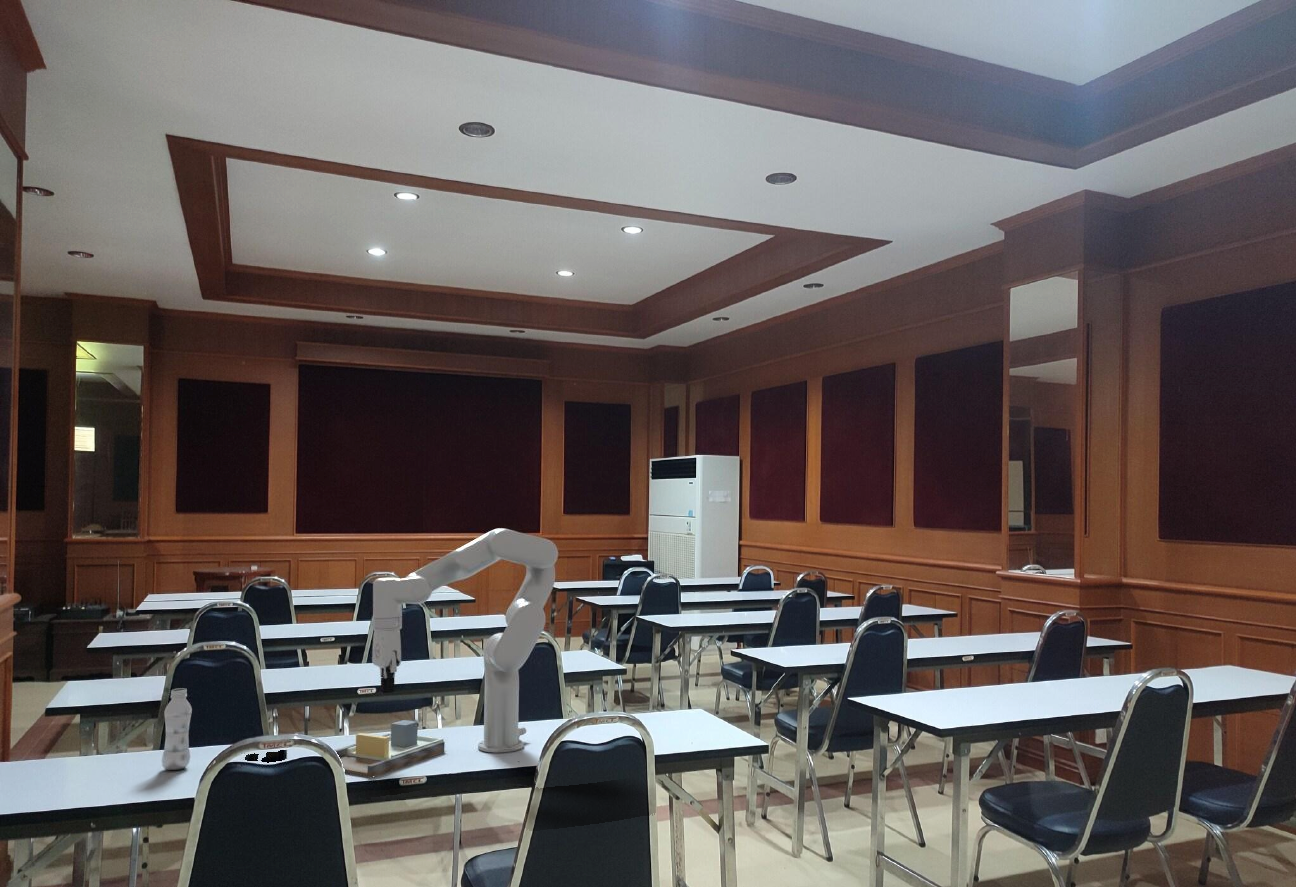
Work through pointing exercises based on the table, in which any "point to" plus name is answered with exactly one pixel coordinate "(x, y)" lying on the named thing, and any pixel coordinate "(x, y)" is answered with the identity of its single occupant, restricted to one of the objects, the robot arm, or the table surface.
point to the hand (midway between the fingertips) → (387, 692)
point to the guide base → (379, 767)
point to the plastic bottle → (177, 731)
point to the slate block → (404, 733)
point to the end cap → (269, 756)
